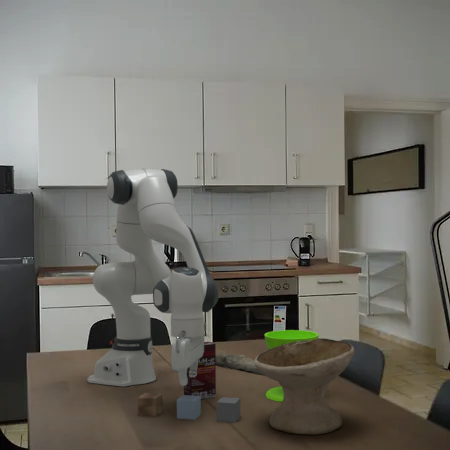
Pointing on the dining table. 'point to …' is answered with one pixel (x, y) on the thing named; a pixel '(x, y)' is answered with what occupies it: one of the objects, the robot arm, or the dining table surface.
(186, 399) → the slate blue block
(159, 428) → the dining table surface
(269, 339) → the wineglass
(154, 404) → the walnut block
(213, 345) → the supplement box
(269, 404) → the dining table surface
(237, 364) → the long grey stone
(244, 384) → the dining table surface
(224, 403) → the grey block
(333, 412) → the bowl
